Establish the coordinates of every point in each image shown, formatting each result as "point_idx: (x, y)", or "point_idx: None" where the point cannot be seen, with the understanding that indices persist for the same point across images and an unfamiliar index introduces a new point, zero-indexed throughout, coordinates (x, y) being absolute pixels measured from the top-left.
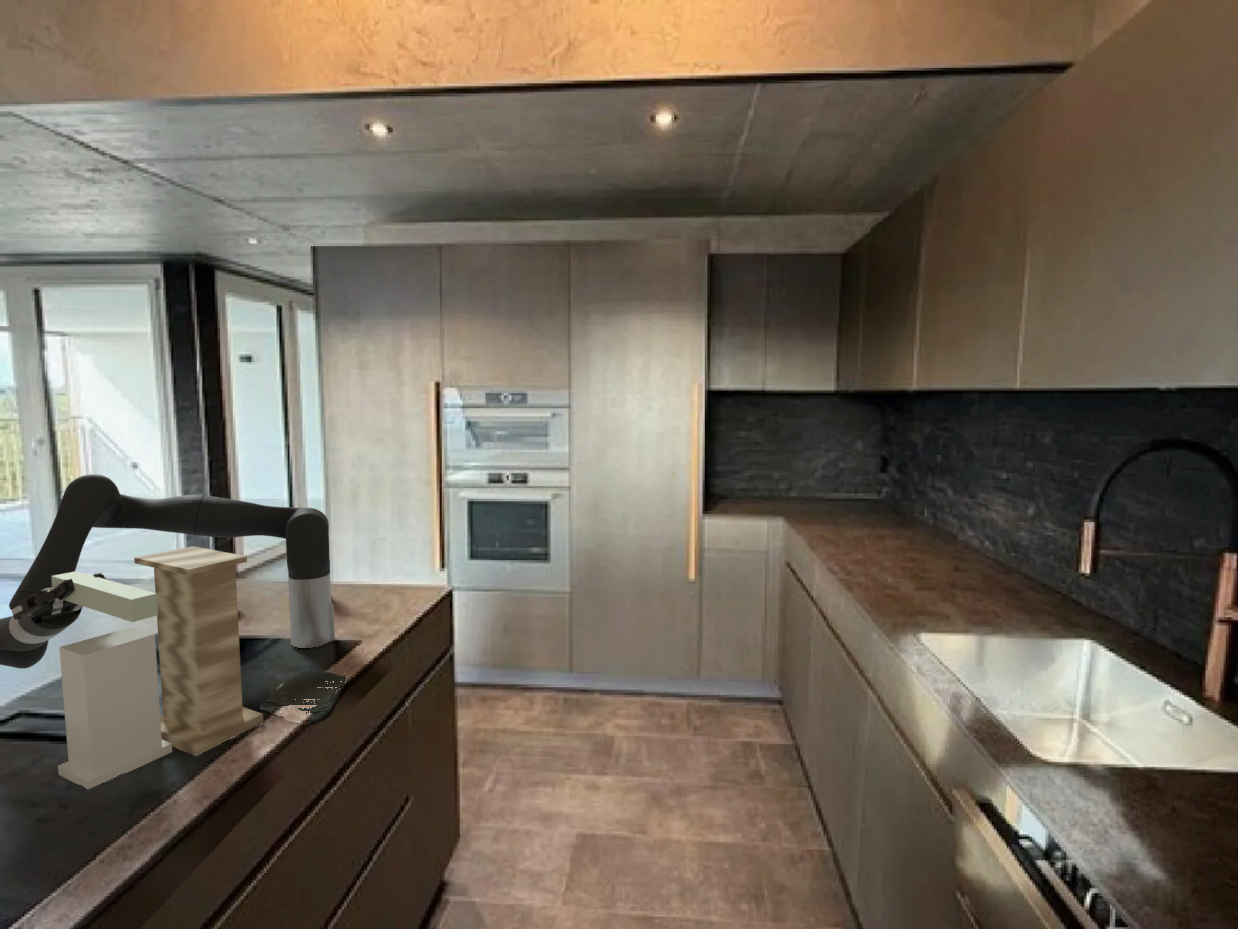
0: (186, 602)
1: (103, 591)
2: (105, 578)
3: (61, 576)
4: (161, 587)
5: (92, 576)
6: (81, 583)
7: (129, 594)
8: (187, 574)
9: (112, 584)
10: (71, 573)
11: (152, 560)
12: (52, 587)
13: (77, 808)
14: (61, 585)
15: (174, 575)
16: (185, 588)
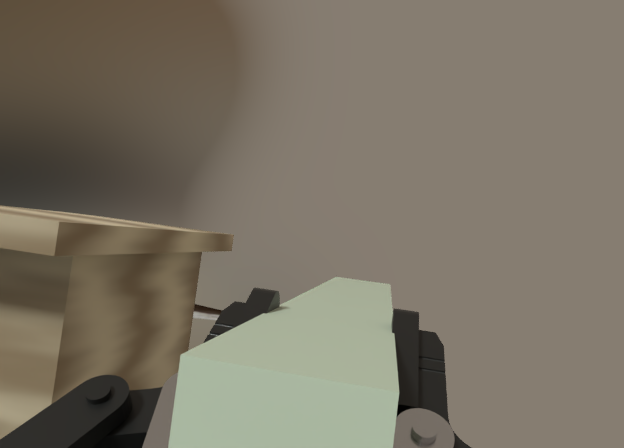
0: (168, 351)
1: (390, 295)
2: (95, 381)
3: (359, 360)
4: (92, 351)
5: (276, 312)
6: (381, 313)
7: (370, 284)
8: (229, 248)
9: (332, 292)
10: (263, 353)
11: (133, 226)
12: (437, 427)
13: None
14: (435, 347)
15: (152, 275)
16: (174, 306)
